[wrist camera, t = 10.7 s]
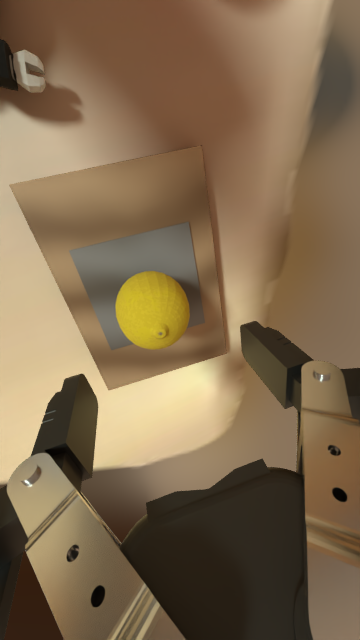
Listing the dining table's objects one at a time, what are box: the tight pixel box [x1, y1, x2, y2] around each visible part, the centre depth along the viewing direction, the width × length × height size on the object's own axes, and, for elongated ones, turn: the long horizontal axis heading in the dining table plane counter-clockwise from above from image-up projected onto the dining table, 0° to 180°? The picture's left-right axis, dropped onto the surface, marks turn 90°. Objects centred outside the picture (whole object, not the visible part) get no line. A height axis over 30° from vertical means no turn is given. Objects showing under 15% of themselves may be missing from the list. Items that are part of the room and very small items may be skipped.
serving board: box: [10, 145, 227, 390], centre depth 22 cm, size 20×14×2 cm
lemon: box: [115, 271, 190, 350], centre depth 18 cm, size 6×6×8 cm
